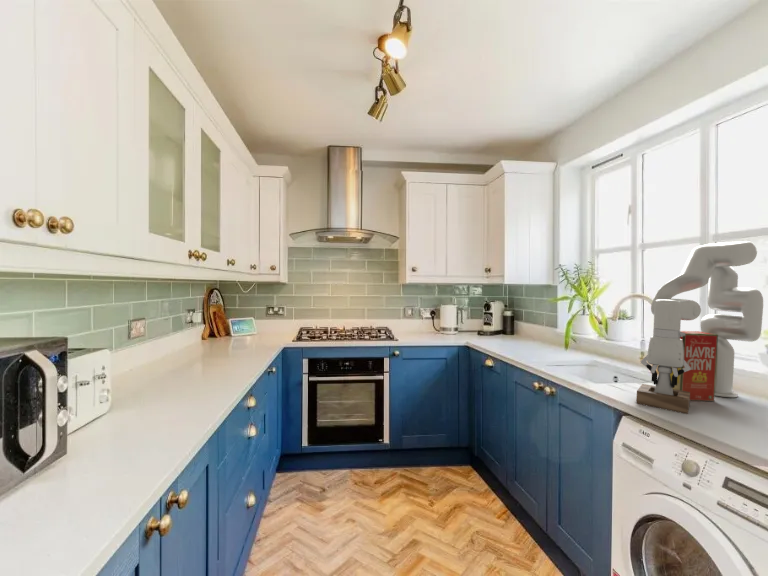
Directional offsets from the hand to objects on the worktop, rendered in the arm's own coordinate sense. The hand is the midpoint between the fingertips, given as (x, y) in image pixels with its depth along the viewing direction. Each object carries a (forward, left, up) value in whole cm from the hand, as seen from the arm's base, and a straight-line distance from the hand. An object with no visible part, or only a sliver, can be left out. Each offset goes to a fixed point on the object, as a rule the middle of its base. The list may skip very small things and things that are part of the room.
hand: (664, 384), depth 131 cm
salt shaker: (0, 0, -6) cm, 6 cm away
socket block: (0, 0, -7) cm, 7 cm away
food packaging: (-18, +6, -7) cm, 21 cm away
